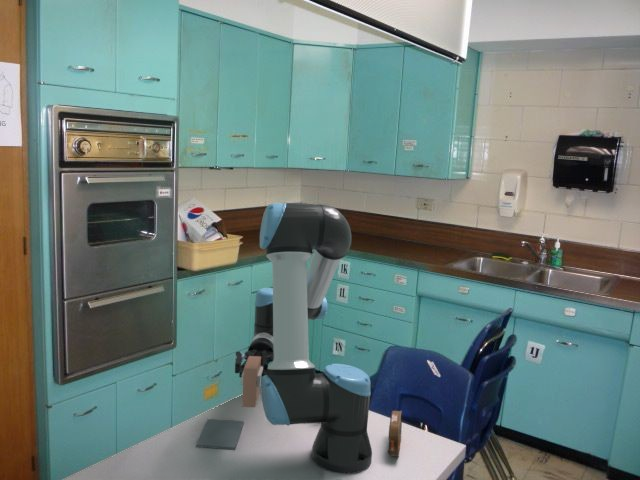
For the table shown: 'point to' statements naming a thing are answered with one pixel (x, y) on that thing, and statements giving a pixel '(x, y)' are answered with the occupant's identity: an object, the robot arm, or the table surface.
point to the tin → (395, 433)
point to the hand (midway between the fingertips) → (250, 380)
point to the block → (251, 381)
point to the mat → (220, 434)
